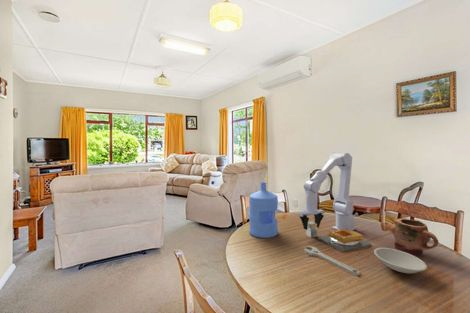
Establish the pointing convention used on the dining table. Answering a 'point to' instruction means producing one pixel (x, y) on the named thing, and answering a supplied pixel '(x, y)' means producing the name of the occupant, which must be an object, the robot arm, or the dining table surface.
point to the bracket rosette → (345, 240)
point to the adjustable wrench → (330, 260)
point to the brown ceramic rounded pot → (412, 236)
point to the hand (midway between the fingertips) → (311, 228)
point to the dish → (400, 260)
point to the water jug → (263, 213)
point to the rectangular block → (312, 229)
